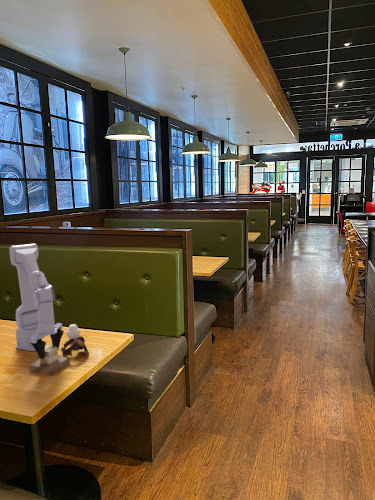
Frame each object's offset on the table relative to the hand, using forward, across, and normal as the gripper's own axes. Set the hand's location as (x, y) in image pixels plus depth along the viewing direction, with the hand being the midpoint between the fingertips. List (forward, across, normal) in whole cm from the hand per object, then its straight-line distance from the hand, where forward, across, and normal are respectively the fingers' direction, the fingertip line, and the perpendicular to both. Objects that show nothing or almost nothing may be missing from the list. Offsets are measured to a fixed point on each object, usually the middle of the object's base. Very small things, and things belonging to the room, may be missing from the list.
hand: (49, 353), depth 140 cm
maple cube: (+3, 0, 0) cm, 3 cm away
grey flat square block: (+6, 0, 0) cm, 6 cm away
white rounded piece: (+6, +24, +8) cm, 26 cm away
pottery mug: (+6, +12, -3) cm, 14 cm away
